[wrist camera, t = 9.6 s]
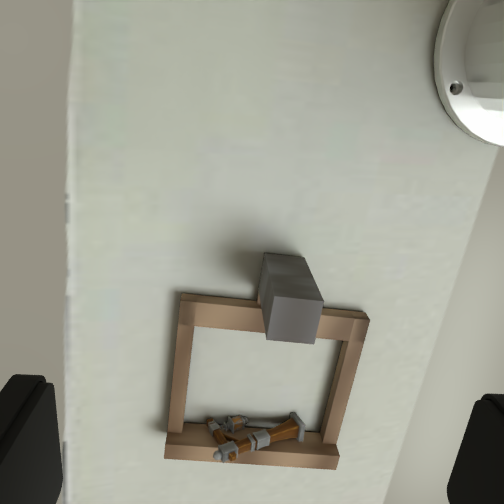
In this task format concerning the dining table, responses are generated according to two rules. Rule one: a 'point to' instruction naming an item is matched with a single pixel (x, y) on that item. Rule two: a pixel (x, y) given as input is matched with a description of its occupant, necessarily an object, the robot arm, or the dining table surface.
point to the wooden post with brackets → (251, 436)
